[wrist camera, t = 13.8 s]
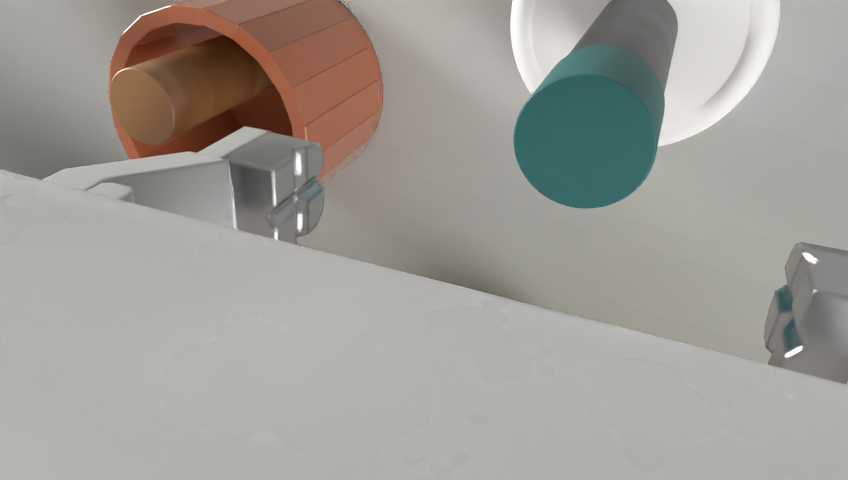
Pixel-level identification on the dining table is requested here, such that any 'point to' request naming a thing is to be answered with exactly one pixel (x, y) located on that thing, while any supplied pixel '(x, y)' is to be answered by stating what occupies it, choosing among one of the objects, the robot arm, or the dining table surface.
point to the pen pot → (271, 72)
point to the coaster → (691, 62)
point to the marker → (600, 108)
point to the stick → (184, 89)
